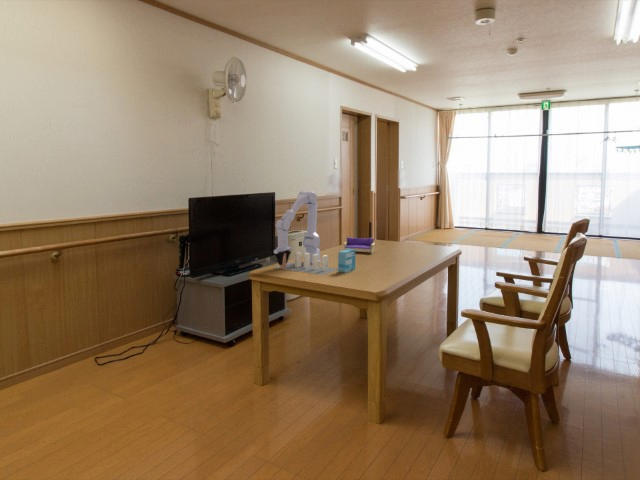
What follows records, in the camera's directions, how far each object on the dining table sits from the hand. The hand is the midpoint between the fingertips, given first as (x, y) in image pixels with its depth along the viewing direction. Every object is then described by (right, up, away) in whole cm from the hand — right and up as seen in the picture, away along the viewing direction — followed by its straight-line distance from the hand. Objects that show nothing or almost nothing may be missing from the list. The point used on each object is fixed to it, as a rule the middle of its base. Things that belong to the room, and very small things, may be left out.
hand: (283, 263), depth 266 cm
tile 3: (+14, -2, 0) cm, 14 cm away
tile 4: (+19, -3, -3) cm, 19 cm away
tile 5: (+24, -3, -6) cm, 25 cm away
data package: (+37, -4, -7) cm, 37 cm away
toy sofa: (+49, +5, +53) cm, 72 cm away
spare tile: (0, -2, 0) cm, 2 cm away
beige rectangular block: (+9, -2, +3) cm, 9 cm away
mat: (+13, -3, -1) cm, 13 cm away
